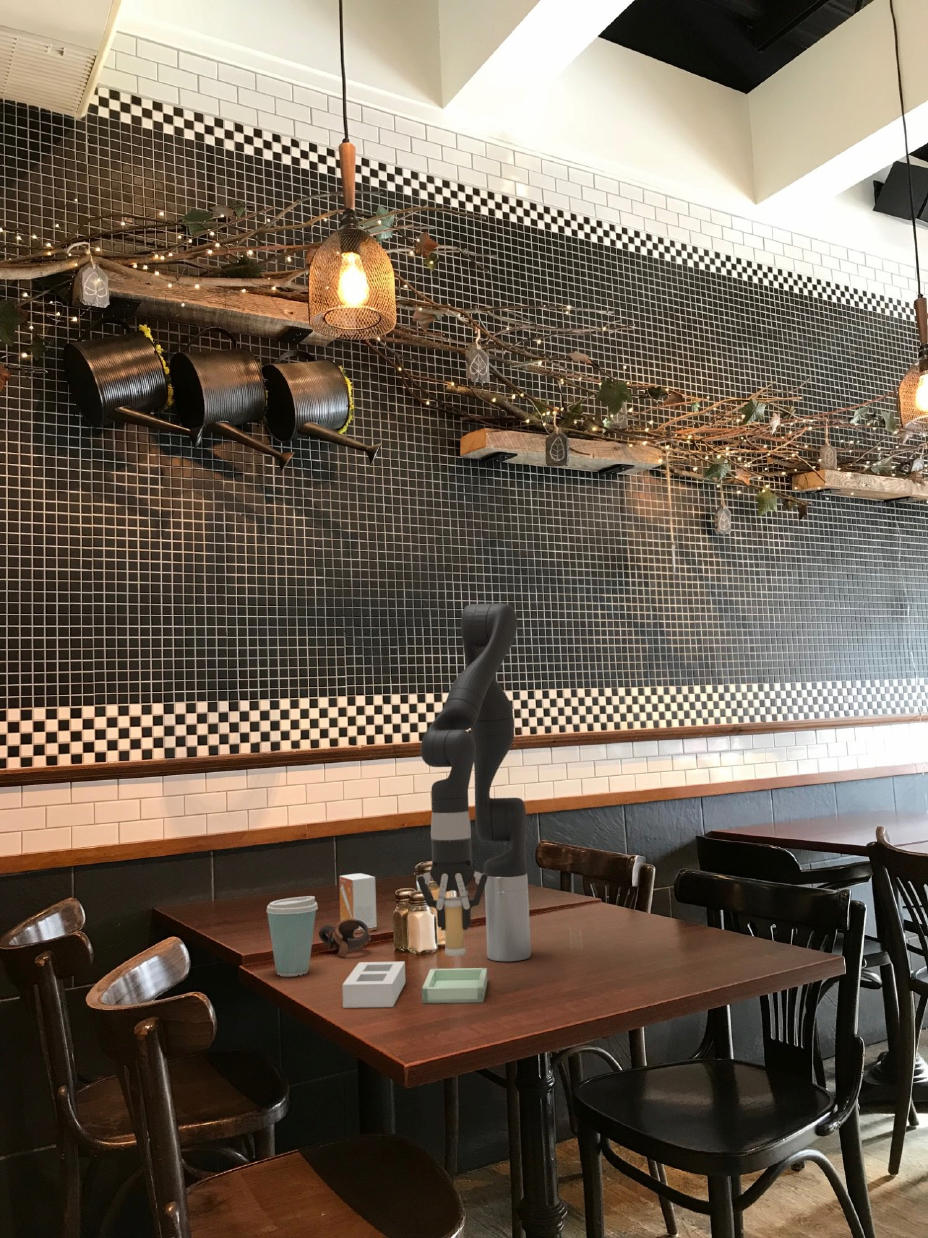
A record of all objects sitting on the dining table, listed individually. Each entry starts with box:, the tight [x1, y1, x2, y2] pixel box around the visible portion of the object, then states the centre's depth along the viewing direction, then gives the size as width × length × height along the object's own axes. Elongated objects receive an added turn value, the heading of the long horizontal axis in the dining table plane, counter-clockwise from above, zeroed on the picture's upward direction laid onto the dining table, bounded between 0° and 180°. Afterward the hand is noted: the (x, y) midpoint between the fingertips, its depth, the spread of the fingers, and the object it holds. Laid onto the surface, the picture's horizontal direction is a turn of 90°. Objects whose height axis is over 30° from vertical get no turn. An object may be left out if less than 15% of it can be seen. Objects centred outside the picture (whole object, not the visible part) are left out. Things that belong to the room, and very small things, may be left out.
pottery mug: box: [318, 919, 372, 958], centre depth 218 cm, size 12×10×8 cm
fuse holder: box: [342, 961, 406, 1009], centre depth 183 cm, size 16×9×4 cm, turn 175°
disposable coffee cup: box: [266, 895, 319, 978], centre depth 202 cm, size 11×11×15 cm
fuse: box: [444, 896, 466, 957], centre depth 184 cm, size 4×4×10 cm
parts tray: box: [421, 967, 489, 1004], centre depth 183 cm, size 14×11×2 cm
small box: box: [338, 872, 378, 930], centre depth 241 cm, size 8×6×13 cm
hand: (454, 929), depth 184 cm, fingers closed on fuse, 3 cm apart
